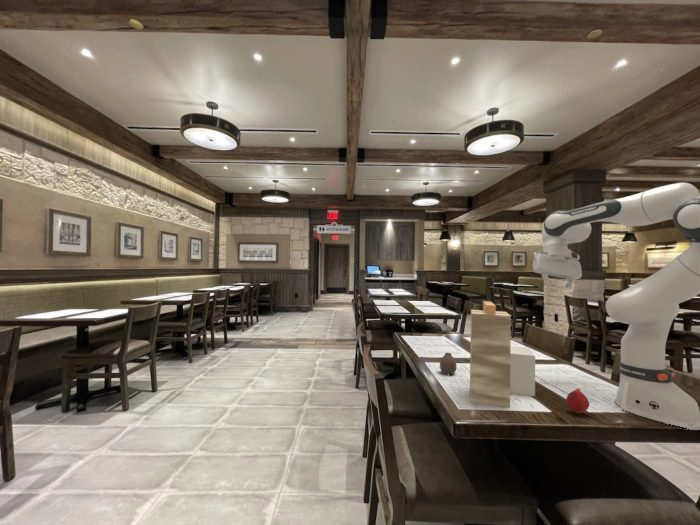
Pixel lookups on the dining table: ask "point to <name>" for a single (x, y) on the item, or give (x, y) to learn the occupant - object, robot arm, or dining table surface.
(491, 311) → the orange bar
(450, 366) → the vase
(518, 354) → the white box
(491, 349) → the tall stand
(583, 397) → the onion
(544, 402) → the dining table surface
